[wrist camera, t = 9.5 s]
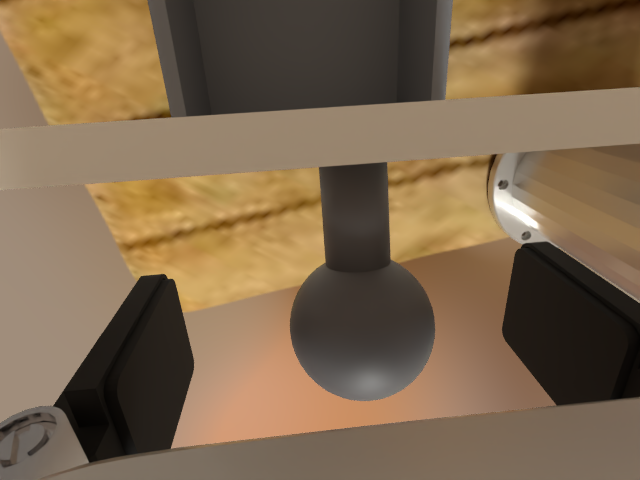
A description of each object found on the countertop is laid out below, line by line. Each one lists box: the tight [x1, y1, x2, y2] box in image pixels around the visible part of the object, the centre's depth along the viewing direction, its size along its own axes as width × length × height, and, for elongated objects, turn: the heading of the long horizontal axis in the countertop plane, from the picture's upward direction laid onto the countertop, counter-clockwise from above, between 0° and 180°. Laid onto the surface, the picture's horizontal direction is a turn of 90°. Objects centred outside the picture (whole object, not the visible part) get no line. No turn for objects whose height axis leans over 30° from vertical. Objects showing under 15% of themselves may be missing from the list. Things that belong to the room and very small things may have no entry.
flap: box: [0, 87, 640, 401], centre depth 14 cm, size 15×17×6 cm
